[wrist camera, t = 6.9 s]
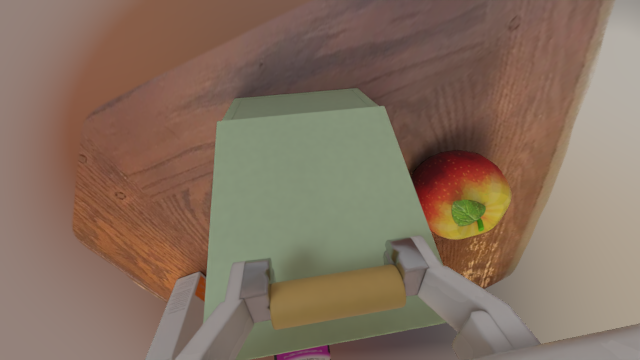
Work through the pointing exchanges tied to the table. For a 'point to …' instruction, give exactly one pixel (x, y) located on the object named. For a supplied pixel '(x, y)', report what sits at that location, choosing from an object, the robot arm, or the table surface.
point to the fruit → (461, 193)
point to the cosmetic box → (180, 318)
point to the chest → (297, 103)
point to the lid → (315, 226)
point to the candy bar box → (306, 354)
